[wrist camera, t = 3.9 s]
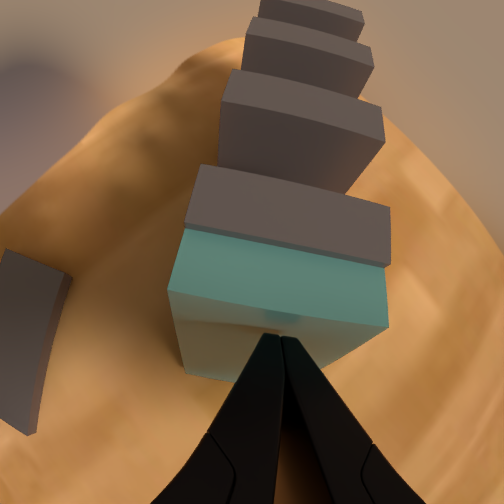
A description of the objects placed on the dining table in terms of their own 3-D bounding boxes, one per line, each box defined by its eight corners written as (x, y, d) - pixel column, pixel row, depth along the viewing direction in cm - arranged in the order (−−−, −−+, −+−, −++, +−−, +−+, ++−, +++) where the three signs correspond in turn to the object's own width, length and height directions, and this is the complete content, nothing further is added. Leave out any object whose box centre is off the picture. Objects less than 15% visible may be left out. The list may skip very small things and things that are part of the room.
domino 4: (301, 247, 18) (385, 142, 8) (215, 230, 18) (221, 100, 8) (304, 222, 18) (381, 107, 9) (220, 205, 18) (232, 68, 9)
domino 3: (307, 187, 19) (374, 67, 10) (228, 171, 19) (245, 33, 9) (309, 167, 20) (370, 47, 10) (233, 151, 19) (252, 16, 10)
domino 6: (282, 389, 15) (388, 327, 7) (185, 373, 15) (166, 289, 6) (285, 360, 16) (384, 268, 7) (191, 344, 15) (185, 228, 7)
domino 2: (311, 140, 20) (364, 23, 11) (240, 124, 20) (261, -4, 11) (312, 123, 21) (361, 11, 11) (244, 108, 21) (265, -14, 11)
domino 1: (40, 430, 13) (27, 436, 11) (-15, 395, 13) (-29, 396, 11) (75, 279, 16) (64, 272, 15) (18, 255, 16) (5, 248, 14)
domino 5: (292, 316, 17) (390, 264, 7) (200, 299, 16) (184, 222, 7) (296, 287, 17) (390, 207, 8) (206, 270, 17) (200, 163, 7)
